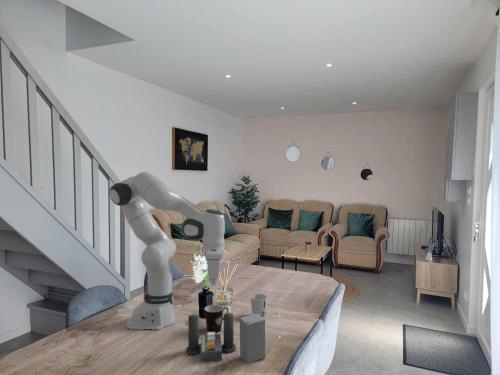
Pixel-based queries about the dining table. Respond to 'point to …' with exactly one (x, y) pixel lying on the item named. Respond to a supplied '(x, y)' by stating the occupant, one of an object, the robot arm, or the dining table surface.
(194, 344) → the post
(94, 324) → the dining table surface
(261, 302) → the cup
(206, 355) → the dark grey boxy piece
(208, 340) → the paddle mid
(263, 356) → the skincare box
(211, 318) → the coffee mug
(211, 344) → the paddle
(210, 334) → the paddle
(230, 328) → the post
